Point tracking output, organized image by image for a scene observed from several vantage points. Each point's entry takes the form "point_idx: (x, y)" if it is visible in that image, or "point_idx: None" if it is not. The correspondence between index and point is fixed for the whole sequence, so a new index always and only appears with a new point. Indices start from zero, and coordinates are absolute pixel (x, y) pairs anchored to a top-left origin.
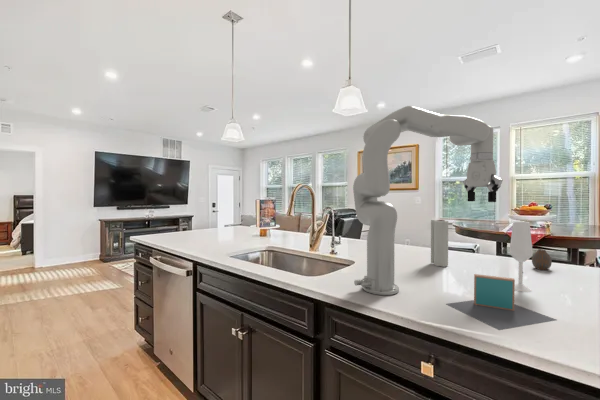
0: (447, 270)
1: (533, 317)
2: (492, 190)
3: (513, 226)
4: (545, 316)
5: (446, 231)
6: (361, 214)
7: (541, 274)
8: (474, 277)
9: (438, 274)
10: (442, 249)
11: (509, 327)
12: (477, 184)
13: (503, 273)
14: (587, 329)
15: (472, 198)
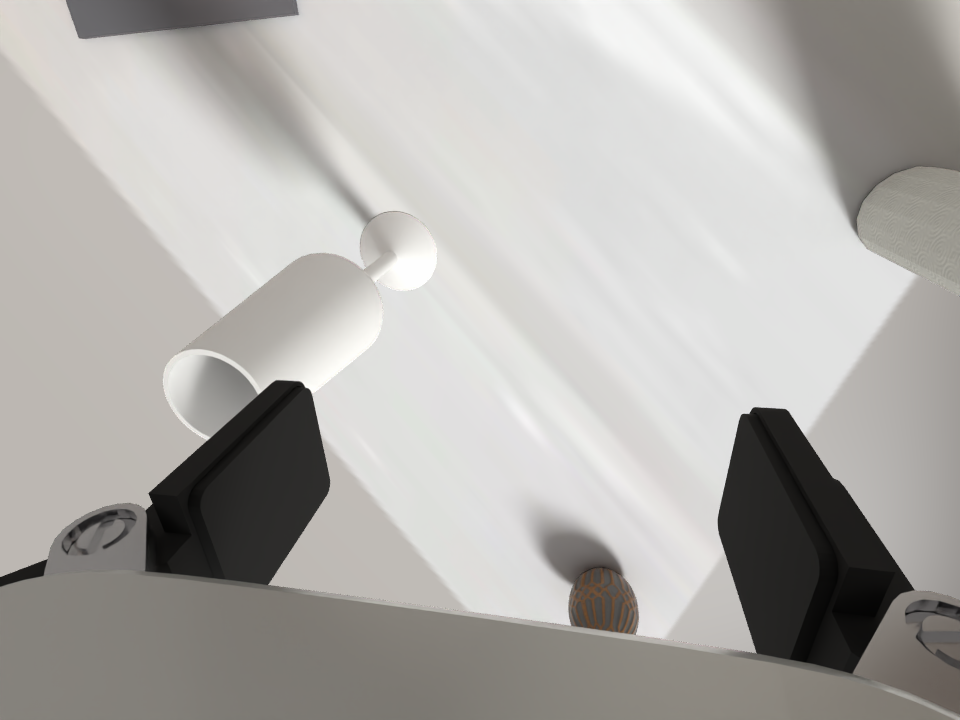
0: (782, 159)
1: None
2: (87, 525)
3: (245, 334)
4: (102, 23)
5: None
6: None
7: (538, 507)
8: None
9: (736, 18)
10: (942, 215)
11: None
12: (294, 646)
13: (603, 394)
14: (42, 80)
15: (740, 511)
